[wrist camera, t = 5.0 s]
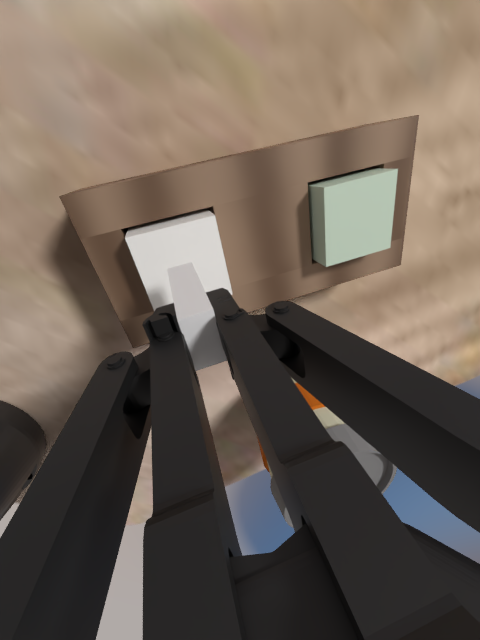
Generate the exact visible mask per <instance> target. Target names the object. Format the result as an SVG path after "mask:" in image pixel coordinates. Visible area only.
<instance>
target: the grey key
mask: <svg viewBox="0 0 480 640" xmlns="http://www.w3.org/2000/svg"><path fill="white" fill-rule="evenodd" d="M125 240H126V242H127V245H128V247H129V250H130V252H131V255H132V257H133V260H134V262H135V265H136V267H137V269H138V272H139V274H140V277H141V279H142V282H143V284H144V287H145V289H146V292H147V294H148V297H149V299H150V302H151V304H152V307H153V309H154V311H155V310H156V308H158V307H161V306H165V305H168V304H171V303H174V301H173V296H172V291H171V286H170V281H169V276H168V271H167V269H168V268H172V267H175V266H179V265H182V264H186V263H190V262H192V264H193V266H194V268H195V271H196V273H197V275H198V277H199V279H200V281H201V283H202V286H203V288H204V290H205V292H209V291H213V290H216V289H219V288H224V289H226V290H228V291H229V293H230V294H231V295H232V294H233V293H232V289H231V284H230V280H229V276H228V271H227V267H226V262H225V258H224V253H223V249H222V244H221V240H220V235H219V231H218V226H217V222H216V218H215V215H214V214H213V213H212V212H210V211H209V210H208V209H206V208H204V209H200V210H196V211H192V212H188V213H184V214H180V215H176V216H172V217H168V218H164V219H160V220H156V221H152V222H148V223H144V224H140V225H136V226H132V227H128V230H127V233H126V236H125Z"/></svg>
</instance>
